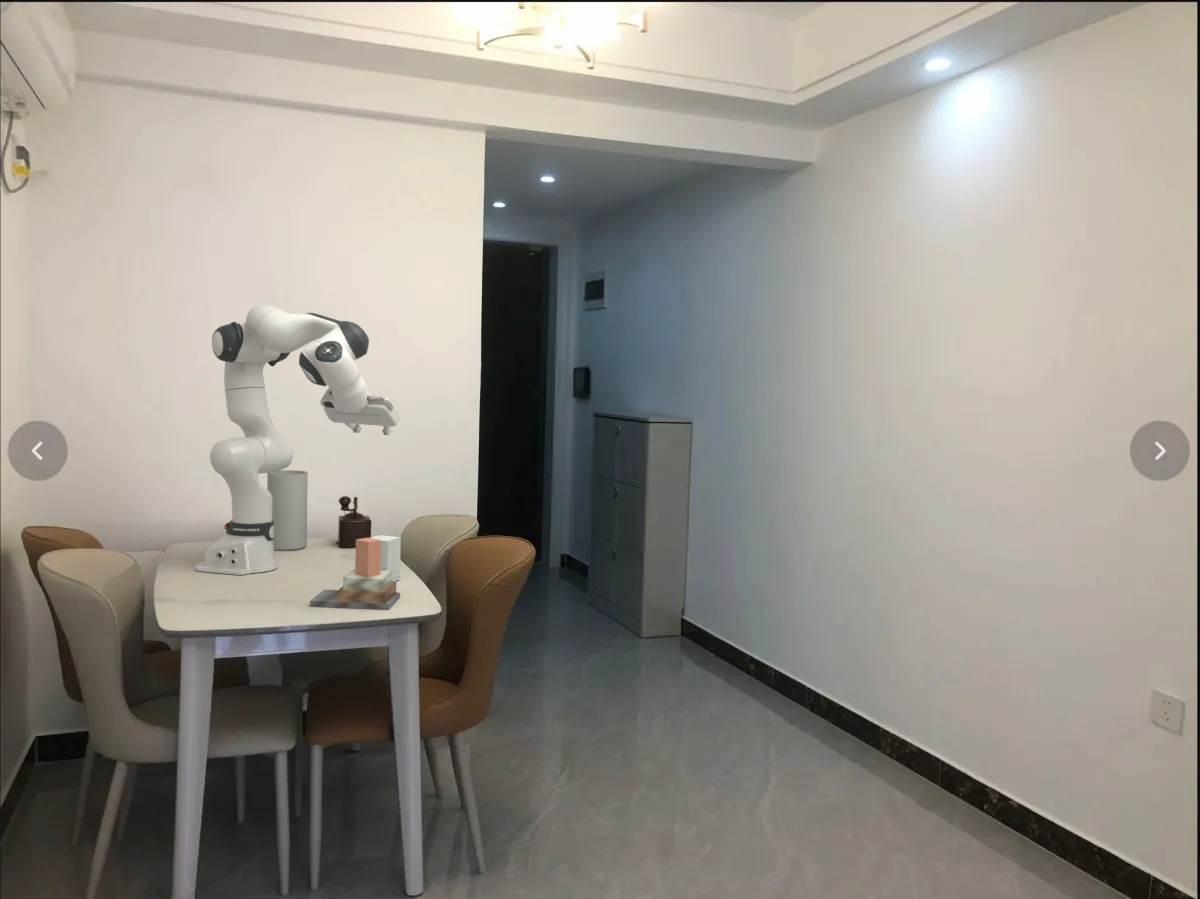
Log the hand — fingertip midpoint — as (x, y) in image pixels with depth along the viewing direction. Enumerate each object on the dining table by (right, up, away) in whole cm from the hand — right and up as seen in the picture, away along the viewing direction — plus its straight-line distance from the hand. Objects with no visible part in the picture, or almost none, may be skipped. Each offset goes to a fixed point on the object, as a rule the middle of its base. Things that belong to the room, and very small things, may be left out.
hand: (372, 432), depth 244 cm
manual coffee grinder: (-22, -38, +62) cm, 76 cm away
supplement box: (-1, -43, +15) cm, 45 cm away
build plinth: (-2, -44, -9) cm, 45 cm away
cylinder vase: (-43, -37, +56) cm, 80 cm away
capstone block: (+1, -37, -10) cm, 38 cm away
